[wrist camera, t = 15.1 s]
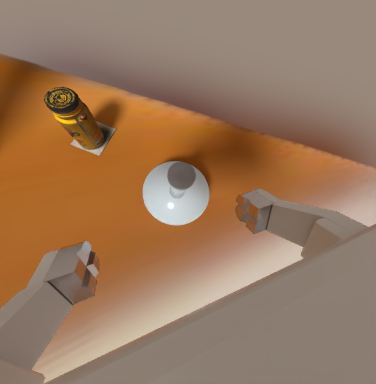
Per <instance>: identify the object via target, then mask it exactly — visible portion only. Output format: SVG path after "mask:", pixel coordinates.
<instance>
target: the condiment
mask: <svg viewBox="0 0 376 384" xmlns="http://www.w3.org/2000/svg"><path fill="white" fill-rule="evenodd" d="M44 101H45V103H46V105H47V107H48V108H49V109H50V110H51V111H52V113H53V114H54V117H55V118H56V120H57V121H58V122H59V123H60V124H61V125H62V126H63V127H64V128H65V129H66V130H67V132H68V133H69V134H70V135H71V136H72V137H73V138H74V141H73V142H72V143H71V145H73V146H76V147H78V148H81V149H83V150H86V151H88V152H91V153H94V154H96V155H100V154H101V152H102V151H103V149H104V148H105V146H106V144H107V143H108V141H109V139H110V138H111V136H112V135H113V133H114V131H115V130H116V129H115V128H112V127H110V126H107V125H104V124H102V123H99V122H97V121H95V119H94V117H93V116H92V114H91V112H90V111H89V109H88V107H87V106H86V105H85V104H84V103H83V102H82V101H81V100H80V98H79V97H78V95H77V94H76V93H75V92H74V91H73V90H71V89H69V88H65V87H58V88H54V89H51V90H50V91H48V92H47V94H46V95H45V99H44Z"/></svg>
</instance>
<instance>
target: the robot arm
mask: <svg viewBox="0 0 376 384" xmlns="http://www.w3.org/2000/svg"><path fill="white" fill-rule="evenodd" d="M236 202H237V203H238V204H237V206H236V209H235V212H236V215H237V217H238V219H239V220H240V221H241V222H244V223H246V227H247V228H248V229H249V230H250V231H251V232H252V233H253V234H256V233H259V232H262V231H264V230H266V231H269V232H271V233H273V234H275V235H278V236H280V237H282V238H284V239H286V240H289V241H291V242H293V243H295V244H298V245H300V246H302V247H304V248H303V250H302V252H301V256H302V257H303V258H304V259H302V260H300V261H298V262H296V263H293V264H291V265H289V266H287V267H285V268H283V269H281V270H279V271H277V272H275V273H273V274H271V275H269V276H266V277H264V278H262V279H260V280H258V281H256V282H254V283H252V284H250V285H248V286H246V287H244V288H242V289H239V290H237V291H235V292H233V293H231V294H229V295H227V296H225V297H223V298H221V299H219V300H217V301H215V302H212V303H210V304H208V305H206V306H204V307H202V308H200V309H198V310H196V311H194V312H192V313H190V314H188V315H185V316H183V317H181V318H179V319H177V320H175V321H173V322H171V323H169V324H167V325H165V326H163V327H161V328H158V329H156V330H154V331H152V332H150V333H148V334H146V335H144V336H142V337H140V338H138V339H136V340H134V341H132V342H129V343H127V344H125V345H123V346H121V347H119V348H117V349H115V350H113V351H111V352H109V353H107V354H105V355H102V356H100V357H98V358H96V359H94V360H92V361H90V362H88V363H86V364H84V365H82V366H80V367H78V368H76V369H73V370H71V371H69V372H67V373H65V374H63V375H61V376H59V377H57V378H55V379H53V380H51V381H49V382H46V383H44V379H45V377H44V375H43V374H41V373H38V372H35V371H33V370H32V368H33V367H34V365H35V363H36V362H37V360H38V359H39V357H40V356H41V354H42V353H43V351H44V350H45V348H46V347H47V345H48V344H49V342H50V341H51V339H52V337H53V336H54V334H55V333H56V331H57V330H58V328H59V327H60V325H61V324H62V322H63V321H64V319H65V318H66V316H67V315H68V313H69V311H70V310H71V308H72V307H73V305H74V304H76V303H79V302H81V301H83V300H86V299H88V298H91V297H93V296H95V291H96V285H97V280H96V279H95V276H96V275H97V274H98V272H99V259H98V256H97V254H96V253H95V252H92V251H90V250H91V245H90V244H89V242H86V241H85V242H81V243H77V244H74V245H70V246H67V247H63V248H61V249H57V250H53V251H50V252H48V253H46V254H45V255H44V257H43V258H42V260H41V262H40V264H39V266H38V267H37V269H36V271H35V273H34V275H33V276H32V278H31V280H30V282H29V283H28V285H27V287H26V289H24V290H21V291H20V292H18V293H17V294H16V295H15V296H14V297H13V298H12V299H11V300H10V301H8V302H7V303H6V304H5V305H4V306H3V307H2V308H1V309H0V384H43V383H44V384H376V224H374V225H372V226H370V227H367V226H365V225H363V224H361V223H359V222H357V221H355V220H353V219H351V218H349V217H347V216H345V215H343V214H341V213H339V212H337V211H332V210H327V209H323V208H318V207H313V206H309V205H304V204H299V203H294V202H290V201H285V200H284V201H281V200H280V199H278V198H276V197H275V196H273V195H271V194H270V193H268V192H266V191H265V190H263V189H260V188H259V189H256V190H253V191H250V192H247V193H244V194H241V195H238V196H237V198H236Z"/></svg>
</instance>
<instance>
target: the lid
mask: <svg viewBox="0 0 376 384" xmlns="http://www.w3.org/2000/svg"><path fill="white" fill-rule="evenodd" d="M143 199H144V202H145V205H146V207H147V209H148V210H149V212H150V213H151V214H152V215H153V216H154V217H155V218H156V219H157V220H159V221H161V222H163V223H165V224H169V225H184V224H187V223H190V222H192V221H194V220H195V219H197V218H198V217H199V216H200V215H201V214H202V213H203V212H204V210H205V208H206V207H207V204H208V200H209V187H208V184H207V181H206V179H205V177H204V176H203V174H202V173H201V172H200V171H199V170H198V169H197V168H195V167H194V166H192V165H190V164H188V163H186V162H180V161H170V162H166V163H163V164H161V165H159V166H157V167H156V168H154V169H153V170H152V171H151V172H150V173H149V175H148V176H147V178H146V180H145V182H144V186H143Z"/></svg>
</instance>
